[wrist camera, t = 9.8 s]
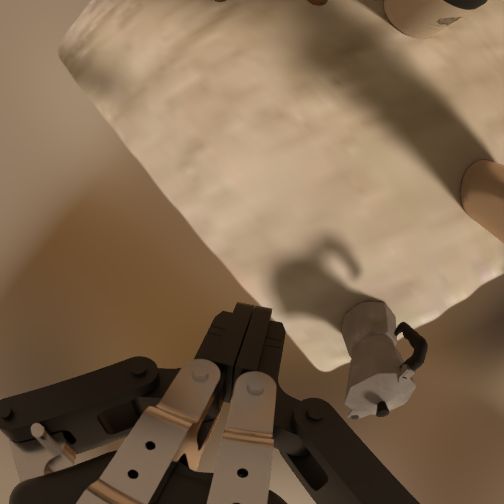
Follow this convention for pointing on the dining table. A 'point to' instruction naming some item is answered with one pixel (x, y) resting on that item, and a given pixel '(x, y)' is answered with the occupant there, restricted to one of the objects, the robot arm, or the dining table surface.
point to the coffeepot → (378, 360)
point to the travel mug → (427, 14)
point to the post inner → (317, 2)
